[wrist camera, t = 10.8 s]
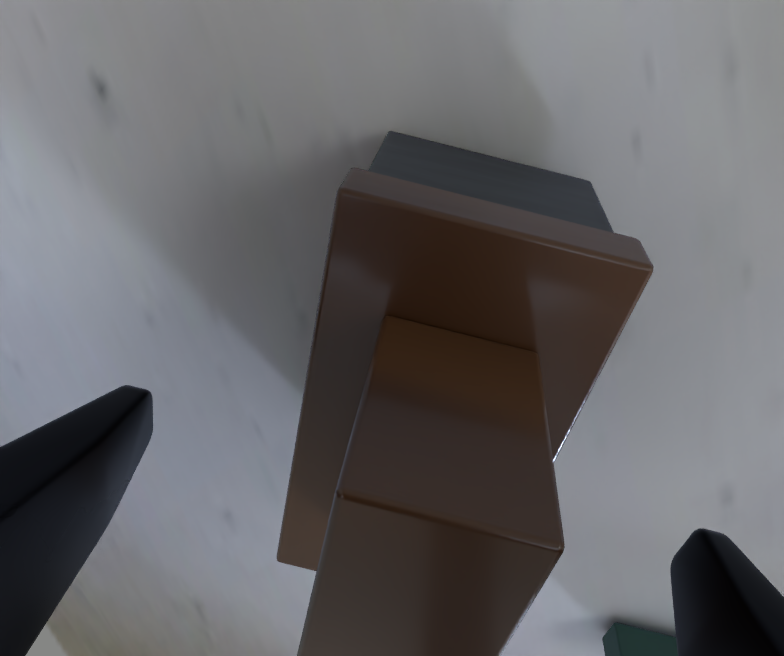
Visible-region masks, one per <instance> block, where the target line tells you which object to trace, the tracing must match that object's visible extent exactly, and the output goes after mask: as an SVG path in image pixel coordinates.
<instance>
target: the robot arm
mask: <svg viewBox="0 0 784 656" xmlns="http://www.w3.org/2000/svg"><path fill="white" fill-rule="evenodd" d="M152 431H153V400H152V394H151V392H150V391H148V390H146V389H142V388H138V387H134V386H130V385H125V386H121V387H119V388H117V389H115V390H113V391H111V392H109V393H107V394H105V395H103V396H101V397H99V398H97V399H95V400H93V401H91V402H89V403H87V404H85V405H83V406H81V407H79V408H77V409H75V410H73V411H71V412H69V413H67V414H65V415H63V416H61V417H59V418H57V419H55V420H53V421H51V422H49V423H47V424H45V425H44V426H42V427H40V428H38V429H36V430H34V431H32V432H30V433H28V434H26V435H24V436H22V437H20V438H18V439H16V440H14V441H12V442H10V443H8V444H6V445H4V446H2V447H0V656H25V655H26V654H27V652H28V651H29V649H30V648H31V646H32V644H33V643H34V641H35V640H36V638H37V637H38V635H39V633H40V632H41V630H42V629H43V627H44V626H45V624H46V622H47V621H48V619H49V618H50V616H51V615H52V613H53V611H54V610H55V608H56V607H57V605H58V604H59V602H60V600H61V599H62V597H63V596H64V594H65V593H66V591H67V589H68V588H69V586H70V585H71V583H72V582H73V580H74V578H75V577H76V575H77V574H78V572H79V571H80V569H81V567H82V566H83V564H84V563H85V561H86V560H87V558H88V557H89V555H90V553H91V552H92V550H93V549H94V547H95V546H96V544H97V542H98V541H99V539H100V538H101V536H102V534H103V533H104V531H105V529H106V528H107V526H108V524H109V522H110V520H111V518H112V517H113V515H114V513H115V511H116V509H117V507H118V505H119V503H120V501H121V499H122V496H123V494H124V492H125V490H126V488H127V486H128V484H129V482H130V480H131V478H132V476H133V474H134V472H135V470H136V468H137V466H138V464H139V462H140V460H141V458H142V456H143V454H144V452H145V450H146V447H147V445H148V443H149V441H150V439H151V436H152ZM671 584H672V596H673V607H674V619H675V630H676V642H677V652H678V656H784V597H783V596H782V595H781V594H780V593H779V591H778V590H777V589H776V588H775V587H774V586H773V585H772V584H771V583H770V582H769V581H768V580H767V578H766V577H765V576H764V575H763V574H762V573H761V572H760V571H759V570H758V569H757V568H756V567H755V565H754V564H753V563H752V562H751V561H750V560H749V559H748V558H747V557H746V556H745V555H744V554H743V553H742V551H741V550H740V549H739V548H738V547H737V546H736V545H735V544H734V543H733V542H732V541H731V540H730V539H729V538H728V537H727V536H726V535H724V534H722V533H719V532H715V531H711V530H707V529H697V530H695V531H694V532H693V533H692V534H691V535H690V537H689V538H688V539H687V541H686V542H685V543H684V544H683V546H682V547H681V548H680V550H679V551H678V552H677V553H676V555H675V556H674V558H673V560H672V563H671Z"/></svg>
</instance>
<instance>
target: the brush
mask: <svg viewBox="0 0 784 656" xmlns="http://www.w3.org/2000/svg"><path fill="white" fill-rule="evenodd" d="M652 272H653V265H652V263H651V261H650V259H649V257H648V255H647V254H646V252H645V250H644V248H643V246H642V244H641V242H640V241H639V240H638V239H636V238H632V237H628V236H624V235H620V234H616V233H614V232H613V230H612V228H611V225H610V223H609V221H608V219H607V217H606V215H605V212H604V210H603V208H602V206H601V204H600V201H599V199H598V197H597V195H596V193H595V191H594V188H593V186H592V184H591V182H590V181H587V180H583V179H579V178H575V177H571V176H567V175H563V174H559V173H555V172H551V171H547V170H543V169H539V168H535V167H531V166H527V165H523V164H519V163H516V162H512V161H508V160H504V159H500V158H496V157H492V156H488V155H484V154H480V153H476V152H472V151H468V150H464V149H460V148H456V147H452V146H448V145H444V144H440V143H436V142H432V141H428V140H424V139H420V138H416V137H412V136H408V135H404V134H400V133H396V132H393V131H389V132H388V134H387V136H386V137H385V139H384V141H383V143H382V145H381V147H380V149H379V151H378V153H377V155H376V157H375V159H374V160H373V162H372V164H371V166H370V168H369V170H368V171H366V170H362V169H358V168H351V169H350V171H349V172H348V174H347V176H346V177H345V179H344V181H343V182H342V184H341V185H340V187H339V189H338V190H337V194H336V200H335V206H334V212H333V218H332V224H331V230H330V237H329V243H328V249H327V255H326V261H325V267H324V273H323V279H322V285H321V291H320V297H319V303H318V309H317V315H316V321H315V327H314V333H313V340H312V346H311V352H310V358H309V364H308V370H307V376H306V382H305V388H304V394H303V400H302V406H301V412H300V418H299V424H298V430H297V436H296V443H295V449H294V455H293V461H292V467H291V473H290V479H289V485H288V491H287V497H286V503H285V509H284V515H283V521H282V527H281V533H280V540H279V546H278V552H277V561H279V562H281V563H285V564H290V565H294V566H298V567H302V568H306V569H310V570H314V571H317V572H316V576H315V581H314V585H313V589H312V593H311V598H310V602H309V606H308V611H307V615H306V619H305V624H304V628H303V632H302V637H301V641H300V645H299V649H298V654H297V656H501V654H502V652H503V651H504V649H505V647H506V646H507V644H508V642H509V641H510V639H511V637H512V636H513V634H514V632H515V631H516V629H517V627H518V626H519V624H520V622H521V621H522V619H523V618H524V616H525V614H526V613H527V611H528V609H529V608H530V606H531V604H532V603H533V601H534V599H535V598H536V596H537V594H538V593H539V591H540V589H541V588H542V586H543V584H544V583H545V581H546V579H547V578H548V576H549V574H550V573H551V571H552V569H553V568H554V566H555V565H556V563H557V561H558V560H559V558H560V556H561V555H562V553H563V550H564V548H565V547H564V537H563V530H562V522H561V515H560V508H559V500H558V493H557V486H556V478H555V471H554V461H555V459H556V457H557V456H558V454H559V452H560V450H561V448H562V446H563V444H564V442H565V440H566V438H567V436H568V434H569V432H570V430H571V429H572V427H573V425H574V423H575V421H576V419H577V417H578V415H579V413H580V411H581V409H582V407H583V405H584V403H585V402H586V400H587V398H588V396H589V394H590V392H591V390H592V388H593V386H594V384H595V382H596V380H597V378H598V376H599V375H600V373H601V371H602V369H603V367H604V365H605V363H606V361H607V359H608V357H609V355H610V353H611V351H612V349H613V348H614V346H615V344H616V342H617V340H618V338H619V336H620V334H621V332H622V330H623V328H624V326H625V324H626V322H627V321H628V319H629V317H630V315H631V313H632V311H633V309H634V307H635V305H636V303H637V301H638V299H639V297H640V295H641V294H642V292H643V290H644V288H645V286H646V284H647V282H648V280H649V278H650V276H651V274H652Z"/></svg>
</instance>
